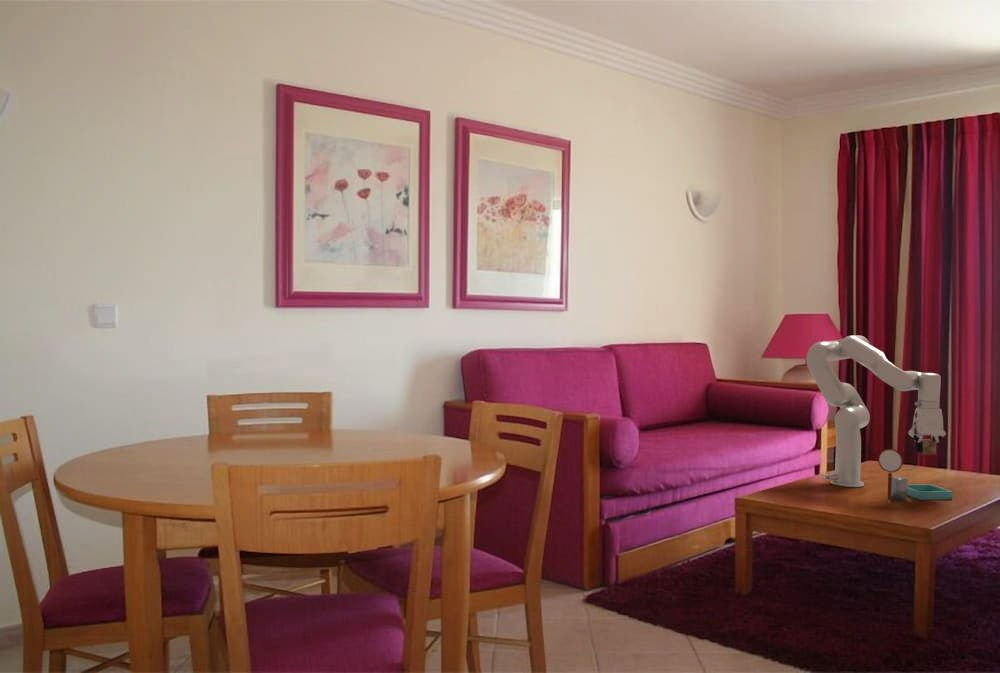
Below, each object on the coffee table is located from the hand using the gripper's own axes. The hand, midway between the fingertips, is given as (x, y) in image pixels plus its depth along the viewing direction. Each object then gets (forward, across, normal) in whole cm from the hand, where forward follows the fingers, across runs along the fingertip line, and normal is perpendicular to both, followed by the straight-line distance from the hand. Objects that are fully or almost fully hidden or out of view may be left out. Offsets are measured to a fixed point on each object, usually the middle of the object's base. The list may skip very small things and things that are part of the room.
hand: (926, 451), depth 341 cm
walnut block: (+1, 0, 0) cm, 1 cm away
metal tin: (+17, -14, -6) cm, 23 cm away
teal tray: (+17, 0, 0) cm, 17 cm away
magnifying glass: (+17, -20, -12) cm, 29 cm away
